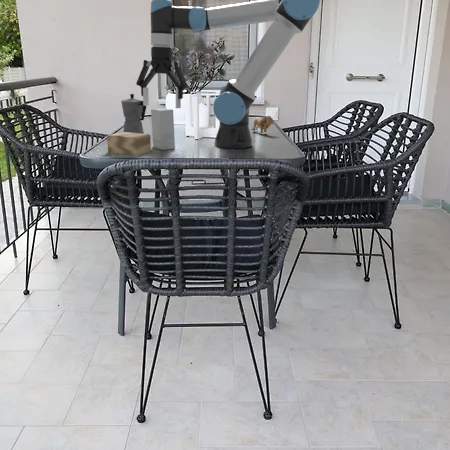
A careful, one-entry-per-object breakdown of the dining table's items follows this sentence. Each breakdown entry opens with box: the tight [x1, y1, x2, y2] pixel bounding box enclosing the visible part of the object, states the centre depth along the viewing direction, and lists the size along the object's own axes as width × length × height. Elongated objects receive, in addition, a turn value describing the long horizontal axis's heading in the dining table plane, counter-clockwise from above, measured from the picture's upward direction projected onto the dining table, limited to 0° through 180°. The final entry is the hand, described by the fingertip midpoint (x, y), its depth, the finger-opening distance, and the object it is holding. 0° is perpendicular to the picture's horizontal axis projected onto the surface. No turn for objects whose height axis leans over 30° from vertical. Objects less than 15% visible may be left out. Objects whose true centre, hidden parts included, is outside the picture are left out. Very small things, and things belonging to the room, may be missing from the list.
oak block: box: [106, 131, 152, 157], centre depth 174 cm, size 12×10×6 cm
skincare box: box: [150, 107, 176, 151], centre depth 182 cm, size 8×6×15 cm
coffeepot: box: [120, 93, 147, 134], centre depth 206 cm, size 15×9×18 cm, turn 49°
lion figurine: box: [251, 115, 275, 134], centre depth 226 cm, size 15×5×9 cm, turn 37°
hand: (161, 106), depth 179 cm, fingers open, 13 cm apart
